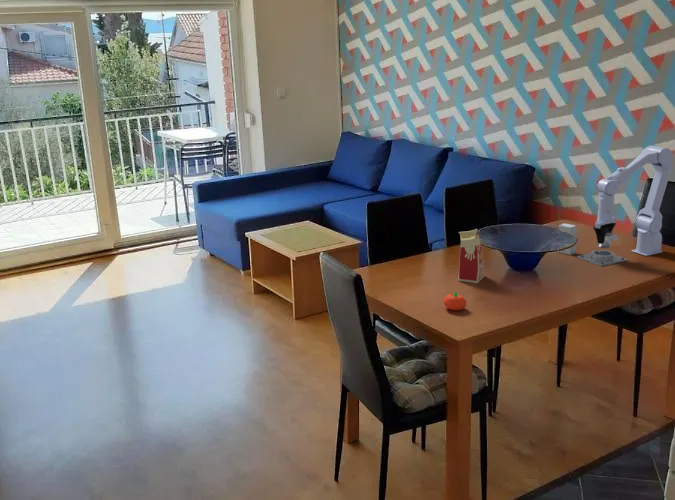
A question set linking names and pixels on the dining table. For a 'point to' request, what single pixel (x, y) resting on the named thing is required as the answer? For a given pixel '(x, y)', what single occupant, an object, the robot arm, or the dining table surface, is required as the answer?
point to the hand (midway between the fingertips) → (603, 241)
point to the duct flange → (602, 257)
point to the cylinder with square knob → (608, 240)
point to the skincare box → (571, 230)
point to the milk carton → (470, 257)
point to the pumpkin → (454, 302)
